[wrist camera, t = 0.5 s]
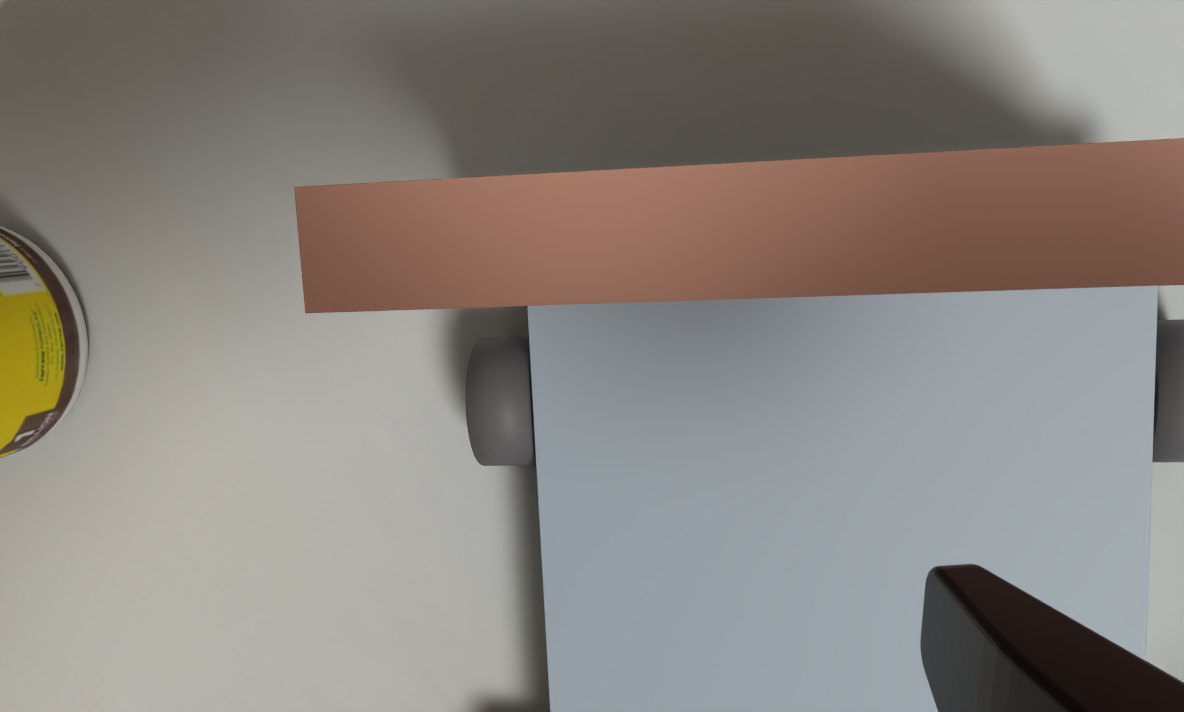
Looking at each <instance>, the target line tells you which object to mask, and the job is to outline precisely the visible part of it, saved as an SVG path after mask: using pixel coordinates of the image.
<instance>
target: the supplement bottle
mask: <svg viewBox="0 0 1184 712" xmlns="http://www.w3.org/2000/svg"><path fill="white" fill-rule="evenodd" d="M87 359H88V339H87V331H86V325H85V321H84V317H83V313H82V310H81V307H80V304H79V301H78V299H77V297H76V295H75V293H74V291H73V289H72V287H71V285H70V283H69V282H68V280H67V278H66V277H65V275H64V274H63V272H62V271H61V270H60V268H59V267H58V266H57V265H56V264H55V263H54V261H53V260H52V259H51V258H50V257H49V256H48V255H47V254H46V253H45V252H44V251H43V250H41V249H40V248H39V247H38V246H37V245H35V244H34V243H32V242H31V241H29V240H28V239H26V238H25V237H23V236H21V235H19V234H18V233H16V232H14V231H11V230H9V229H7V228H4V227H2V226H0V458H2V457H4V456H7V455H10V454H13V453H15V452H18V451H21V450H23V449H25V448H27V447H29V446H31V445H33V444H35V443H37V442H38V441H40V440H41V439H43V438H44V437H46V436H47V435H48V434H49V433H50V432H52V431H53V430H54V429H55V428H56V427H57V426H58V425H59V424H60V423H61V422H62V421H63V419H64V418H65V417H66V416H67V414H68V413H69V412H70V410H71V408H72V407H73V405H74V403H75V402H76V400H77V398H78V395H79V393H80V390H81V388H82V385H83V382H84V378H85V373H86V368H87Z"/></svg>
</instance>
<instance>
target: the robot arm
mask: <svg viewBox="0 0 1184 712" xmlns="http://www.w3.org/2000/svg"><path fill="white" fill-rule="evenodd" d="M920 649H921V658H922V663H923V667H924V670H925V674H926V677H927V680H928V683H929V686H930V689H931V692H932V695H933V698H934V701H935V704H936V707H937V710H938V712H1184V682H1182V681H1180V680H1178V679H1177V678H1175V677H1173V676H1171V675H1170V674H1168V673H1166V672H1164V671H1163V670H1161V669H1159V668H1157V667H1156V666H1154V665H1152V664H1150V663H1149V662H1147V661H1145V660H1143V659H1142V658H1140V657H1138V656H1136V655H1135V654H1133V653H1131V652H1129V651H1128V650H1126V649H1124V648H1123V647H1121V646H1119V645H1117V644H1116V643H1114V642H1112V641H1110V640H1109V639H1107V638H1105V637H1103V636H1102V635H1100V634H1098V633H1096V632H1095V631H1093V630H1091V629H1089V628H1088V627H1086V626H1084V625H1082V624H1081V623H1079V622H1077V621H1075V620H1074V619H1072V618H1070V617H1068V616H1067V615H1065V614H1063V613H1061V612H1060V611H1058V610H1056V609H1055V608H1053V607H1051V606H1049V605H1048V604H1046V603H1044V602H1042V601H1041V600H1039V599H1037V598H1035V597H1034V596H1032V595H1030V594H1028V593H1027V592H1025V591H1023V590H1021V589H1020V588H1018V587H1016V586H1014V585H1013V584H1011V583H1009V582H1007V581H1006V580H1004V579H1002V578H1000V577H999V576H997V575H995V574H994V573H992V572H990V571H988V570H987V569H985V568H983V567H981V566H979V565H976V564H959V565H944V566H935V567H933V568H932V569H931V570H930V571H929V572H928V575H927V578H926V582H925V592H924V604H923V615H922V626H921V638H920Z"/></svg>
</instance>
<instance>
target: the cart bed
mask: <svg viewBox="0 0 1184 712" xmlns="http://www.w3.org/2000/svg"><path fill="white" fill-rule="evenodd" d="M1157 305H1158V286H1130V287H1099V288H1068V289H1037V290H1006V291H975V292H944V293H913V294H882V295H851V296H820V297H789V298H758V299H727V300H696V301H665V302H634V303H603V304H573V305H542V306H527V308H528V326H529V337H520V338H483V339H480V340H478V342H477V343H476V344H475V346H474V348H473V351H472V354H471V357H470V362H469V367H468V373H467V384H466V416H467V426H468V433H469V439H470V443H471V447H472V450H473V453H474V456H475V458H476V459H477V461H478V462H479V463H480V464H481V465H483V466H501V465H536V467H537V485H538V503H539V520H540V538H541V556H542V574H543V591H544V609H545V627H546V644H547V662H548V680H549V698H550V712H938V710H937V707H936V704H935V701H934V698H933V695H932V692H931V689H930V686H929V683H928V680H927V677H926V674H925V670H924V667H923V663H922V658H921V649H920V638H921V626H922V615H923V604H924V592H925V582H926V578H927V575H928V572H929V571H930V570H931V569H932V568H933V567H935V566H944V565H959V564H976V565H979V566H981V567H983V568H985V569H987V570H988V571H990V572H992V573H994V574H995V575H997V576H999V577H1000V578H1002V579H1004V580H1006V581H1007V582H1009V583H1011V584H1013V585H1014V586H1016V587H1018V588H1020V589H1021V590H1023V591H1025V592H1027V593H1028V594H1030V595H1032V596H1034V597H1035V598H1037V599H1039V600H1041V601H1042V602H1044V603H1046V604H1048V605H1049V606H1051V607H1053V608H1055V609H1056V610H1058V611H1060V612H1061V613H1063V614H1065V615H1067V616H1068V617H1070V618H1072V619H1074V620H1075V621H1077V622H1079V623H1081V624H1082V625H1084V626H1086V627H1088V628H1089V629H1091V630H1093V631H1095V632H1096V633H1098V634H1100V635H1102V636H1103V637H1105V638H1107V639H1109V640H1110V641H1112V642H1114V643H1116V644H1117V645H1119V646H1121V647H1123V648H1124V649H1126V650H1128V651H1129V652H1131V653H1133V654H1135V655H1136V656H1138V657H1140V658H1142V659H1143V660H1145V661H1146V640H1147V609H1148V579H1149V549H1150V518H1151V488H1152V462H1184V320H1157Z"/></svg>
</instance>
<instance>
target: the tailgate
mask: <svg viewBox="0 0 1184 712" xmlns="http://www.w3.org/2000/svg"><path fill="white" fill-rule="evenodd" d="M294 189H295V200H296V211H297V223H298V234H299V246H300V257H301V268H302V280H303V291H304V302H305V313H325V312H356V311H387V310H418V309H449V308H480V307H511V306H542V305H573V304H603V303H634V302H665V301H696V300H727V299H758V298H789V297H820V296H851V295H882V294H913V293H944V292H975V291H1006V290H1037V289H1068V288H1099V287H1130V286H1160V285H1184V138H1179V139H1161V140H1143V141H1124V142H1106V143H1088V144H1070V145H1051V146H1033V147H1015V148H997V149H979V150H960V151H942V152H924V153H906V154H887V155H869V156H851V157H833V158H815V159H796V160H778V161H760V162H742V163H723V164H705V165H687V166H669V167H651V168H632V169H614V170H596V171H578V172H559V173H541V174H523V175H505V176H487V177H468V178H450V179H432V180H414V181H395V182H377V183H359V184H341V185H323V186H304V187H294Z"/></svg>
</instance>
